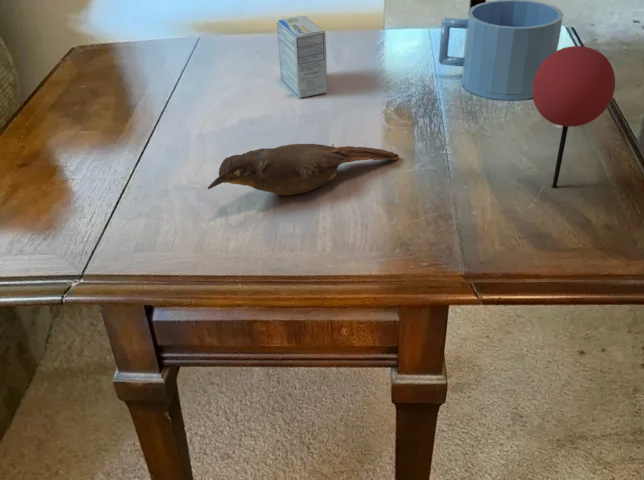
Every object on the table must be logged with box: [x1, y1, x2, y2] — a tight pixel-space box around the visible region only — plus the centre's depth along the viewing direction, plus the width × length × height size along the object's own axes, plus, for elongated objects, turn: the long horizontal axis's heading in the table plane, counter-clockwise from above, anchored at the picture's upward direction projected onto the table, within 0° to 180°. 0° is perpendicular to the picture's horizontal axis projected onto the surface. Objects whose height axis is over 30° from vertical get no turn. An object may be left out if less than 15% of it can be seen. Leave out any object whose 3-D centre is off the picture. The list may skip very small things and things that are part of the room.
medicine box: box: [276, 15, 328, 99], centre depth 106 cm, size 8×4×9 cm, turn 20°
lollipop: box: [532, 45, 616, 189], centre depth 79 cm, size 8×8×15 cm
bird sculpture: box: [207, 143, 400, 196], centre depth 85 cm, size 7×25×5 cm, turn 122°
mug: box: [438, 0, 564, 101], centre depth 105 cm, size 16×12×10 cm
